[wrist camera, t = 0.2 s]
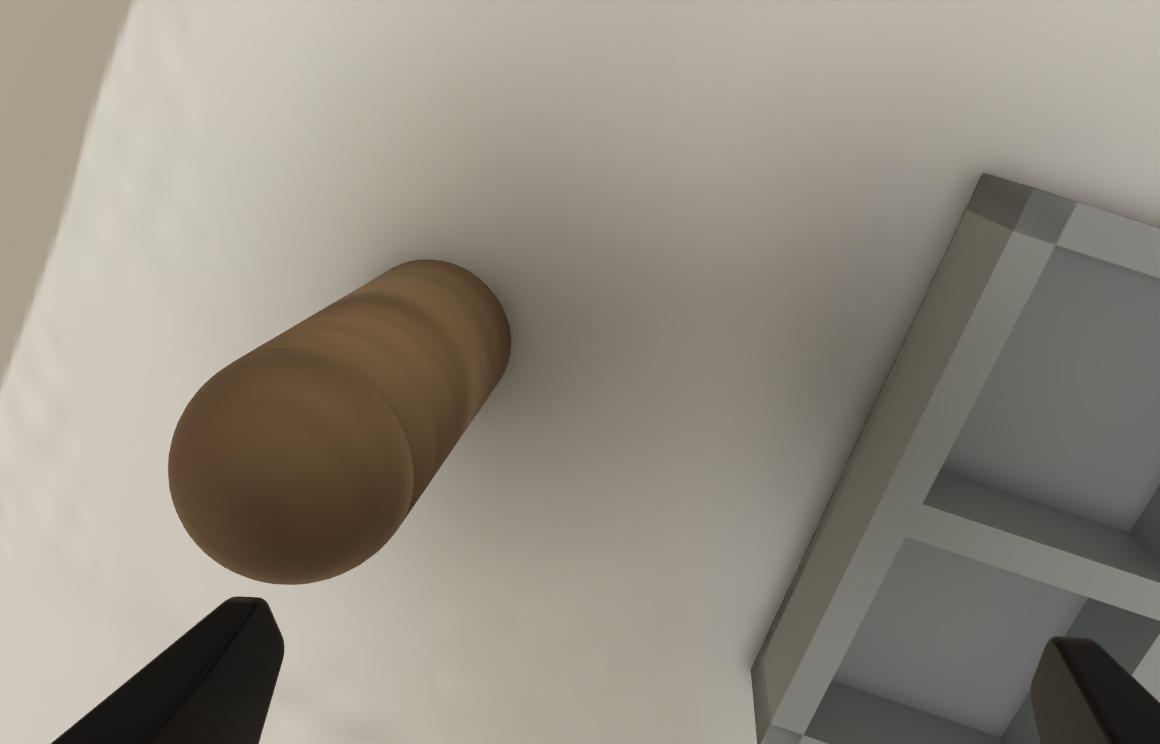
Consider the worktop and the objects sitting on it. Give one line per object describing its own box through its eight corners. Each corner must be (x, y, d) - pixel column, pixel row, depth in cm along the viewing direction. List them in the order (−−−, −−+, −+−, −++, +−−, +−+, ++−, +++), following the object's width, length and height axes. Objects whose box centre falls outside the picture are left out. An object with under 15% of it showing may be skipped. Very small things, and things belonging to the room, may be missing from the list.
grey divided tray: (1010, 758, 27) (1053, 850, 24) (750, 670, 27) (757, 749, 24) (1318, 279, 21) (1431, 314, 18) (983, 173, 22) (1034, 188, 18)
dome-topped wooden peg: (451, 439, 26) (280, 681, 16) (329, 344, 26) (68, 526, 15) (541, 329, 25) (421, 515, 14) (414, 226, 24) (188, 336, 13)
